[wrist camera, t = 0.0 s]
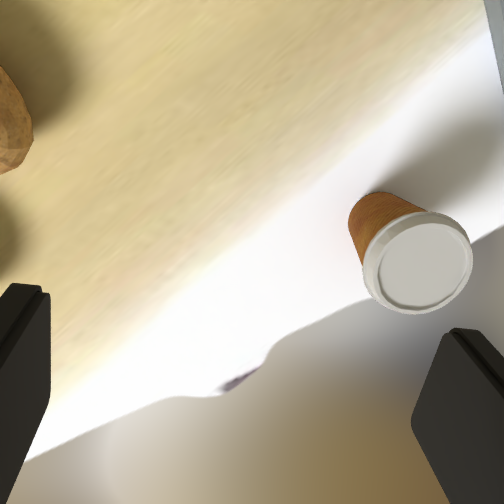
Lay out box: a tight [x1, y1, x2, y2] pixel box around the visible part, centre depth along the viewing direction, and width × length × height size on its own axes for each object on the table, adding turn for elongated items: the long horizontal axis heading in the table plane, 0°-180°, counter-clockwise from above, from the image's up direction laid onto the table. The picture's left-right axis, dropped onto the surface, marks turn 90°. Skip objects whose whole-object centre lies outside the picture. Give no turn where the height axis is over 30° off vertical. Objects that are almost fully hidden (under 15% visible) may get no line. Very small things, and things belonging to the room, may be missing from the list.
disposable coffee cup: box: [348, 192, 473, 315], centre depth 46 cm, size 10×10×12 cm
